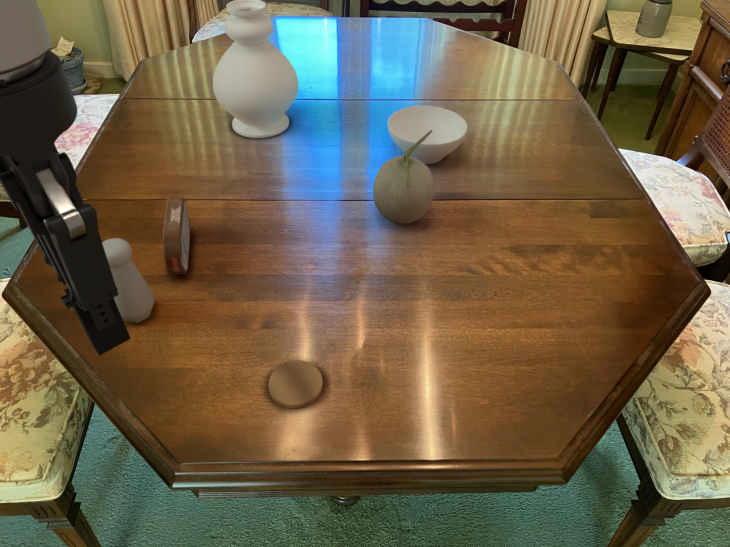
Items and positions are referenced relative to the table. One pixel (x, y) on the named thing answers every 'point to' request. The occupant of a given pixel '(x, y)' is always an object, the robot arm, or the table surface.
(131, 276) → the salt shaker
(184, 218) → the tin
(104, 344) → the robot arm
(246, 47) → the decorative vase
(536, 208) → the table surface
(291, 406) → the cork trivet
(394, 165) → the fruit
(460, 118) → the bowl
